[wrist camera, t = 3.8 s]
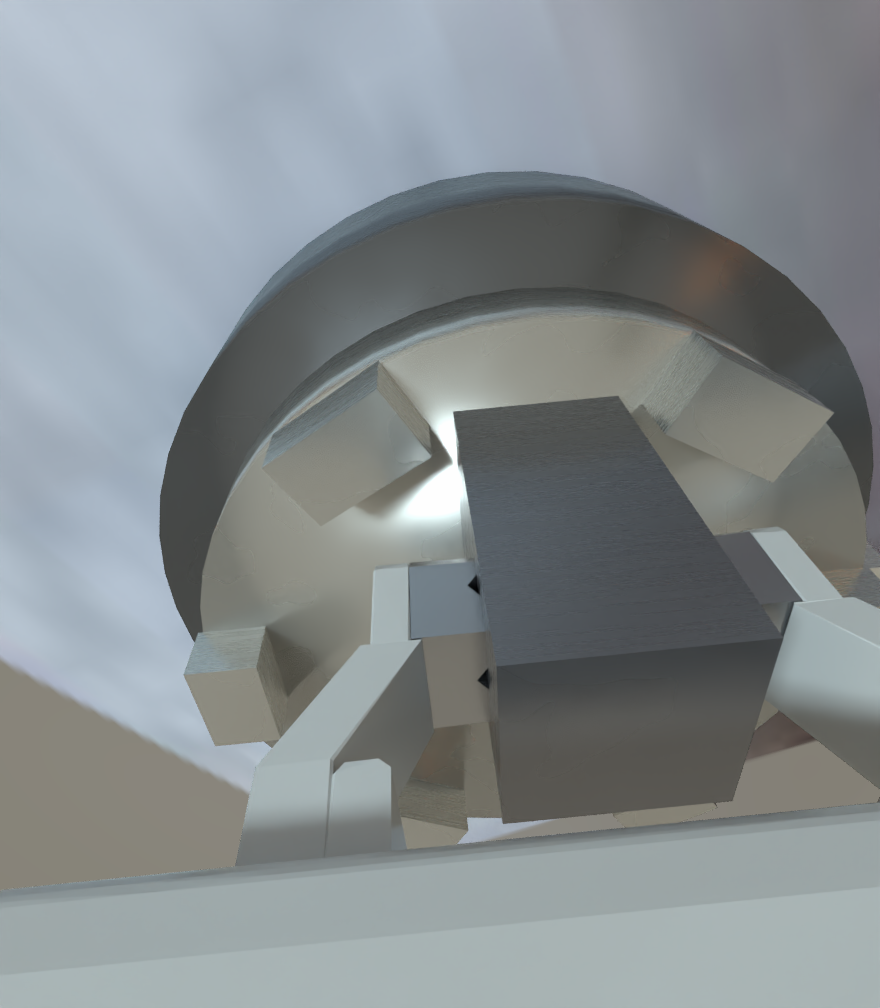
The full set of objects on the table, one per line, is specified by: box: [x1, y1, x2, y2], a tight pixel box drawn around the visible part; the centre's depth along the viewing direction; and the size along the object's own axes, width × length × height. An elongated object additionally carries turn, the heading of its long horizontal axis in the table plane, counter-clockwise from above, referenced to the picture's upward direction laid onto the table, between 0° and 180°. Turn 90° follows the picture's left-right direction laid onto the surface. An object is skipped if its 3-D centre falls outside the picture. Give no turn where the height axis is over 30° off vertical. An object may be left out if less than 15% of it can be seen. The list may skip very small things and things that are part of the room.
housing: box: [159, 171, 880, 642], centre depth 18 cm, size 18×18×6 cm
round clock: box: [184, 287, 880, 849], centre depth 13 cm, size 15×15×8 cm
